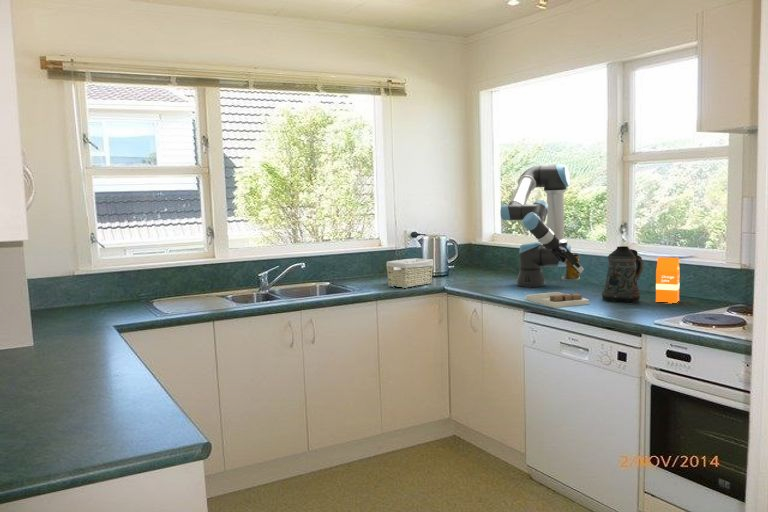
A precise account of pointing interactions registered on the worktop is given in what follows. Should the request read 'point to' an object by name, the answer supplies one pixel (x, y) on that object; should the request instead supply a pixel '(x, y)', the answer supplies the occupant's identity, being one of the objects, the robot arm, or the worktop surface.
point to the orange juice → (667, 280)
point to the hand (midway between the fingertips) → (577, 270)
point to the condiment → (571, 270)
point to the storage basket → (409, 272)
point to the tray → (545, 300)
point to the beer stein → (623, 276)
